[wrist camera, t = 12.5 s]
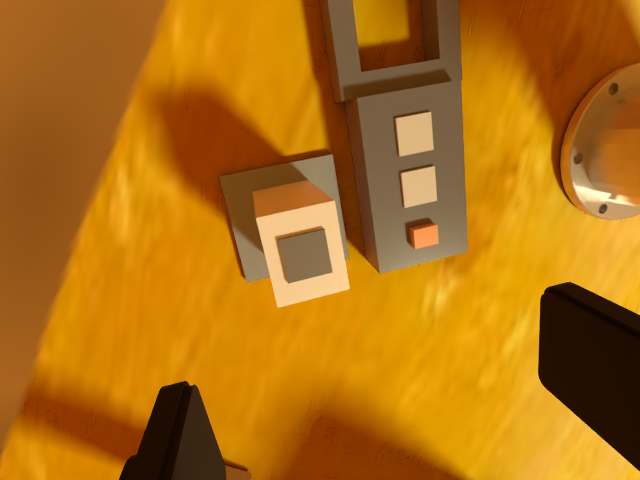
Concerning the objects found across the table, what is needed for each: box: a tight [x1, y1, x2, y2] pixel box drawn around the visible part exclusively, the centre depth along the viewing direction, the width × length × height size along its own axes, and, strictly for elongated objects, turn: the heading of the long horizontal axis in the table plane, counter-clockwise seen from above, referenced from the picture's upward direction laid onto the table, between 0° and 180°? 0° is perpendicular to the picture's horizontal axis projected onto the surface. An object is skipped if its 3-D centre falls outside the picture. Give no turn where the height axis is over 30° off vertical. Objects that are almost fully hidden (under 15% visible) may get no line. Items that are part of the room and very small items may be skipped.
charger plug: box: [253, 180, 350, 308], centre depth 22 cm, size 4×5×8 cm
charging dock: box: [319, 0, 468, 274], centre depth 24 cm, size 8×21×4 cm, turn 10°
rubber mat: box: [219, 154, 349, 283], centre depth 26 cm, size 8×8×1 cm
